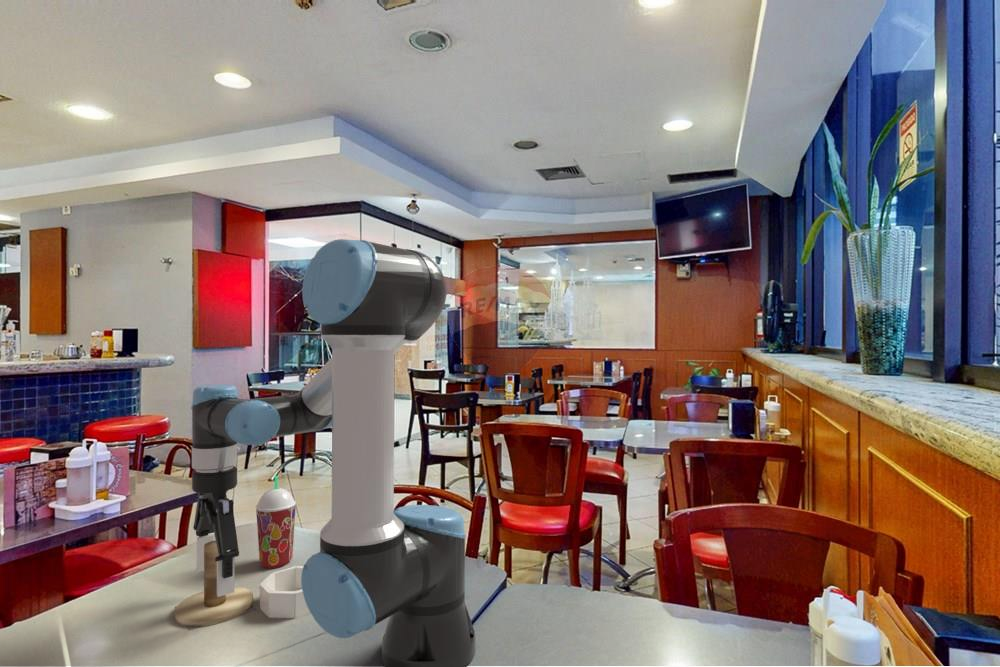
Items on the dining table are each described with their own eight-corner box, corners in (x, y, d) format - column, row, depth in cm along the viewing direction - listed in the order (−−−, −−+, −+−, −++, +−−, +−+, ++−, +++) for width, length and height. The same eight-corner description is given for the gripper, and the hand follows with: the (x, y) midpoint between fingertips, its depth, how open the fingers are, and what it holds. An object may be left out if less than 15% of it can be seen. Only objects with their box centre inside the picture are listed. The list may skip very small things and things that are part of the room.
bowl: (337, 606, 104) (337, 579, 104) (275, 628, 96) (275, 599, 96) (312, 585, 112) (312, 561, 112) (253, 604, 104) (253, 578, 104)
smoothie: (302, 558, 126) (302, 472, 126) (284, 574, 118) (284, 481, 118) (268, 557, 127) (268, 471, 127) (248, 572, 119) (248, 480, 119)
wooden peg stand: (263, 608, 101) (263, 544, 102) (184, 634, 93) (184, 564, 93) (240, 585, 111) (240, 526, 111) (167, 606, 102) (167, 542, 102)
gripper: (258, 477, 95) (258, 598, 95) (217, 454, 114) (217, 555, 114) (211, 485, 90) (211, 613, 90) (176, 459, 109) (176, 565, 109)
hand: (214, 581), depth 102 cm, fingers open, 13 cm apart
